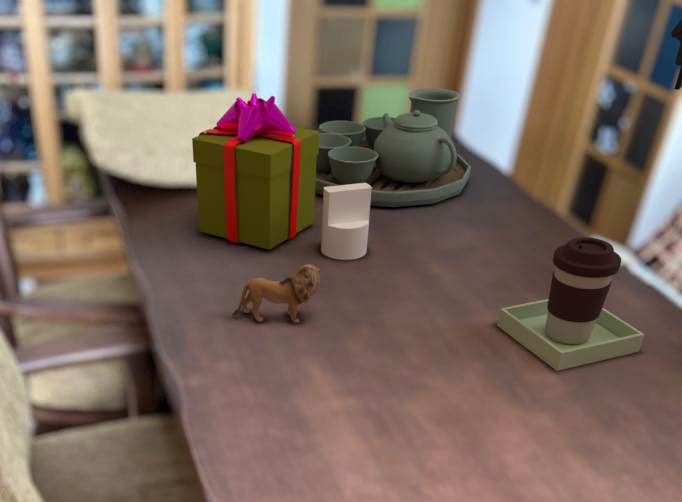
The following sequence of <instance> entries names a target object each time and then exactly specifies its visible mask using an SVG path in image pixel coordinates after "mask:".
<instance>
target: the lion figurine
mask: <svg viewBox="0 0 682 502" xmlns="http://www.w3.org/2000/svg"><path fill="white" fill-rule="evenodd" d="M320 280H321V279H320V269H319V268H317V267H316V266H315V265H313V264H310V263H308V264H307V263H306V264H303V265H302V266H299V268H298V270H297V271H296V272H294V273H293V274H290V275H289V276H288V277H285V279H283V280H281V281H274V280H269V279H266V278H263V277H255V278H252V279H249V280H248V281H247V282H246V283H245V285H244V287H243V289H242V292H241V297H240V299H239V300H240V301H239V305H238V307H237V309H235V310H234V312H232V313H231V315H232V316H237V315H238V314H239V313H240V312H241V311H242V312H243V314H249V313H250V312H251V313H252V314H253V316H254V318H255V321H256V322H258V323H262V322H264V317H263V316H260V315H259V311H258V310H259V308H260V305H261V303H262V299H263V298H264V299H266V300H267V301H268V302H270V303H272V304H277V305H282V304H287V313H288V315H289V316H290V319H291V322H293V324H299V323H300V318H299V317H297V314H298V309H299V305H301V304H307V303H308V301H310V299H311V297H312V296H314V295H315V293H317V291H318V289H319V286H320V283H321V281H320ZM248 291H249V292H248ZM247 292H248V294H247ZM250 303H252V308H251V309H250V308H249V307H248V305H249V304H250Z"/></svg>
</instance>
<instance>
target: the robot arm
mask: <svg viewBox="0 0 682 502" xmlns="http://www.w3.org/2000/svg"><path fill="white" fill-rule="evenodd" d="M670 36H671V37H672V38H674V39H676V40H678V41H679V47H678V51H677V54H676V58H675V61H674V62H675V66H680V67H679V68H680V69H679V71H678V75H677V78H676V81H675V86H674V89H673V90H677V91H679V90H681V88H682V18H681V19H680V20H679V22H678V23H677V24H676V25H675V27H674V28H673V29H672V30H671V33H670Z"/></svg>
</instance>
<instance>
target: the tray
mask: <svg viewBox="0 0 682 502" xmlns="http://www.w3.org/2000/svg"><path fill="white" fill-rule="evenodd" d="M548 299H549V298H547V299H542V300H535V301H532V302H527V303H522V304H516V305H511V306H506V307H501V308H500V309H499V313H498V319H497V324H496V326H497V327H498V328H499V329H501V330H502V331H503V332H504V333H506V334H507V335H509V336H510V337H511V338H513V340H515V341H517V342H518V343H519V344H521V345H522V346H523V347H524V348H526V349H527V350H528V351H530V352H531V353H532V354H534V355H535V356H536V357H538V358H539V359H540V360H542V361H543V362H544V363H546V365H548V366H549V367H551V368H552V369H553V370H554V371H556V372H558V371H563V370H567V369H570V368H571V369H572V368H575V367H579V366H585V365H589V364H593V363H597V362H601V361H605V360H610V359H615V358H618V357H622V356H627V355H630V354H631V355H632V354H635V353H639V352H640V350H641V347H642V344H643V342H644V341H643V340H644V337H645V336H646V335H645V334H644V332H642V331H640V330H638V329H637V328H635V327H634V326H632V325H631V324H629V323H628V322H626V321H625V320H623V319H621V318H620V317H618V316H617V315H615V314H613V313H612V312H610V311H609V310H607V309H605V308H604V307H602V310H601V313H600V315H599V317H598V318H597V320H596V322H595V325H594V328H593V330H592V333H591V336H590V338H589V339H588V340H587V341H586V342H584V343H580V344H564V343H560V342H557V341H554V340H552V339H551V338H549V337H548V336H547V335H546V333H545V325H546V319H547V314H548V309H547V305H548Z"/></svg>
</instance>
